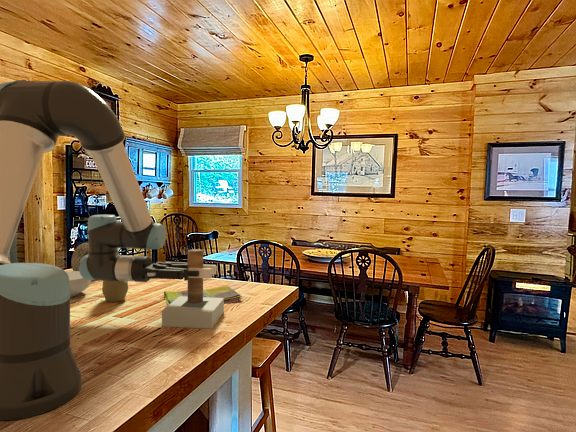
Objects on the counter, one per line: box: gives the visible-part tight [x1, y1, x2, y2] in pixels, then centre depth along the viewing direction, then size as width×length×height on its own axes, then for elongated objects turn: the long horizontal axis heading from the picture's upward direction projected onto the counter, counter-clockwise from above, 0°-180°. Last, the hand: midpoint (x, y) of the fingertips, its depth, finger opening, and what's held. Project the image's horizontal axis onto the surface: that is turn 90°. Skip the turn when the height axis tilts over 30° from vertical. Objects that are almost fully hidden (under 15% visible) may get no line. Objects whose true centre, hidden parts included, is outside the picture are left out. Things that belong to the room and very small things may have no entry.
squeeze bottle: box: [101, 248, 129, 303], centre depth 125 cm, size 8×8×18 cm
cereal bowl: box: [65, 270, 92, 298], centre depth 129 cm, size 17×17×7 cm
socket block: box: [161, 296, 225, 330], centre depth 108 cm, size 14×14×4 cm
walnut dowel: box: [187, 248, 204, 303], centre depth 108 cm, size 4×4×15 cm
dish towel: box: [163, 285, 243, 306], centre depth 129 cm, size 18×24×3 cm
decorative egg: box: [70, 242, 89, 271], centre depth 154 cm, size 12×12×15 cm
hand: (213, 271), depth 108 cm, fingers closed on walnut dowel, 4 cm apart
